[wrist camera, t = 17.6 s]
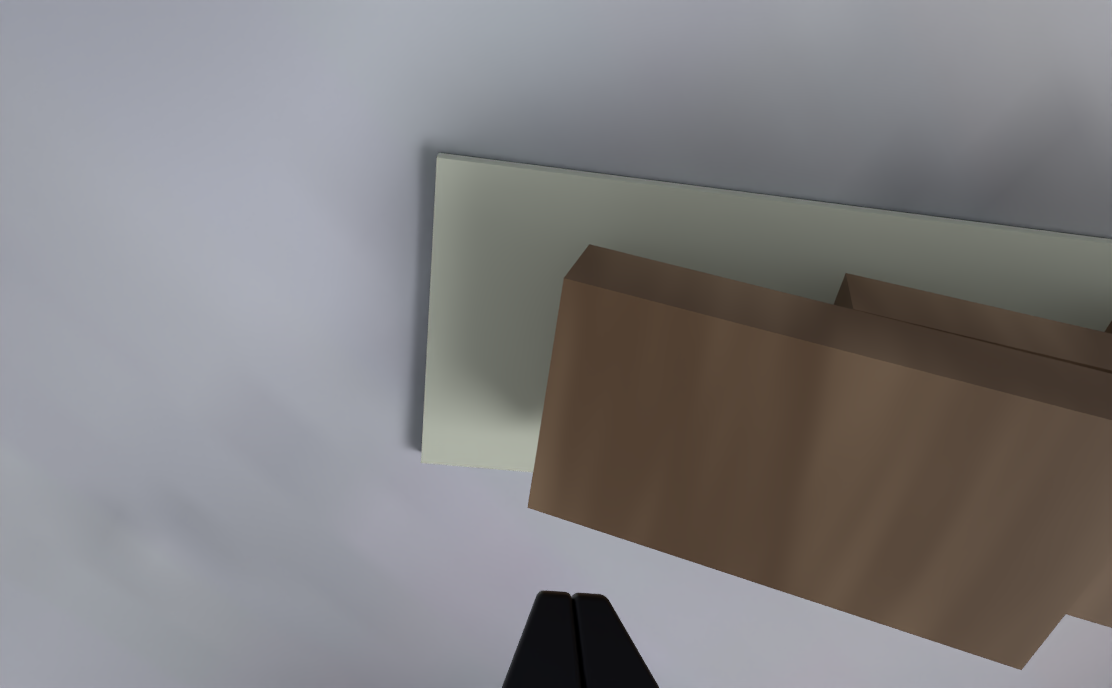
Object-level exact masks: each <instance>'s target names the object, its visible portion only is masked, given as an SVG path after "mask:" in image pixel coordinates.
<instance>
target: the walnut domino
mask: <svg viewBox="0 0 1112 688" xmlns="http://www.w3.org/2000/svg"><path fill="white" fill-rule="evenodd" d="M528 508H531V509H534V510H537V511H540V512H543V513H546V514H549V515H552V516H555V517H558V518H561V519H564V520H567V521H570V522H573V523H576V524H579V525H582V526H585V527H588V528H591V529H594V530H597V531H600V532H603V533H607V534H610V535H613V536H616V537H619V538H622V539H625V540H628V541H631V542H634V543H637V544H640V545H643V546H646V547H649V548H652V549H655V550H658V551H661V552H664V553H667V554H670V555H673V556H676V557H679V558H682V559H685V560H689V561H692V562H695V563H698V564H701V565H704V566H707V567H710V568H713V569H716V570H719V571H722V572H725V573H728V574H731V575H734V576H737V577H740V578H743V579H746V580H749V581H752V582H755V583H758V584H761V585H764V586H768V587H771V588H774V589H777V590H780V591H783V592H786V593H789V594H792V595H795V596H798V597H801V598H804V599H807V600H810V601H813V602H816V603H819V604H822V605H825V606H828V607H831V608H834V609H837V610H840V611H843V612H847V613H850V614H853V615H856V616H859V617H862V618H865V619H868V620H871V621H874V622H877V623H880V624H883V625H886V626H889V627H892V628H895V629H898V630H901V631H904V632H907V633H910V634H913V635H916V636H919V637H922V638H925V639H929V640H932V641H935V642H938V643H941V644H944V645H947V646H950V647H953V648H956V649H959V650H962V651H965V652H968V653H971V654H974V655H977V656H980V657H983V658H986V659H989V660H992V661H995V662H998V663H1001V664H1004V665H1008V666H1011V667H1014V668H1017V669H1020V670H1022V669H1023V667H1024V666H1025V665H1026V663H1027V662H1028V661H1029V660H1030V658H1031V657H1032V656H1033V655H1034V653H1035V652H1036V651H1037V650H1038V648H1039V647H1040V646H1041V645H1042V643H1043V642H1044V641H1045V639H1046V638H1047V637H1048V636H1049V634H1050V633H1051V632H1052V631H1053V629H1054V628H1055V627H1056V626H1057V624H1058V623H1059V622H1060V620H1061V619H1062V618H1063V617H1064V615H1065V614H1066V613H1067V612H1068V610H1069V609H1070V608H1071V607H1072V605H1073V604H1074V603H1075V602H1076V600H1077V599H1078V598H1079V596H1080V595H1081V594H1082V593H1083V591H1084V590H1085V589H1086V588H1087V586H1088V585H1089V584H1090V583H1091V581H1092V580H1093V579H1094V577H1095V576H1096V575H1097V574H1098V572H1099V571H1100V570H1101V569H1102V567H1103V566H1104V565H1105V564H1106V562H1107V561H1108V560H1109V559H1110V557H1111V556H1112V374H1111V373H1107V372H1103V371H1099V370H1095V369H1091V368H1087V367H1083V366H1079V365H1075V364H1071V363H1067V362H1063V361H1059V360H1055V359H1051V358H1047V357H1042V356H1038V355H1034V354H1030V353H1026V352H1022V351H1018V350H1014V349H1010V348H1006V347H1002V346H998V345H994V344H990V343H986V342H982V341H978V340H974V339H970V338H966V337H962V336H958V335H954V334H950V333H946V332H942V331H938V330H934V329H930V328H926V327H922V326H917V325H913V324H909V323H905V322H901V321H897V320H893V319H889V318H885V317H881V316H877V315H873V314H869V313H865V312H861V311H857V310H853V309H849V308H845V307H841V306H837V305H833V304H829V303H825V302H821V301H817V300H813V299H809V298H805V297H801V296H797V295H792V294H788V293H784V292H780V291H776V290H772V289H768V288H764V287H760V286H756V285H752V284H748V283H744V282H740V281H736V280H732V279H728V278H724V277H720V276H716V275H712V274H708V273H704V272H700V271H696V270H692V269H688V268H684V267H680V266H676V265H671V264H667V263H663V262H659V261H655V260H651V259H647V258H643V257H639V256H635V255H631V254H627V253H623V252H619V251H615V250H611V249H607V248H603V247H599V246H595V245H591V244H589V245H588V247H587V248H586V249H585V251H584V252H583V253H582V254H581V256H580V257H579V258H578V260H577V261H576V262H575V264H574V265H573V266H572V268H571V269H570V270H569V272H568V273H567V274H566V276H565V277H564V279H563V286H562V292H561V298H560V305H559V311H558V317H557V324H556V330H555V337H554V343H553V349H552V356H551V362H550V368H549V375H548V381H547V387H546V394H545V400H544V407H543V413H542V419H541V426H540V432H539V438H538V445H537V451H536V457H535V464H534V470H533V477H532V483H531V489H530V496H529V502H528Z"/></svg>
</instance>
